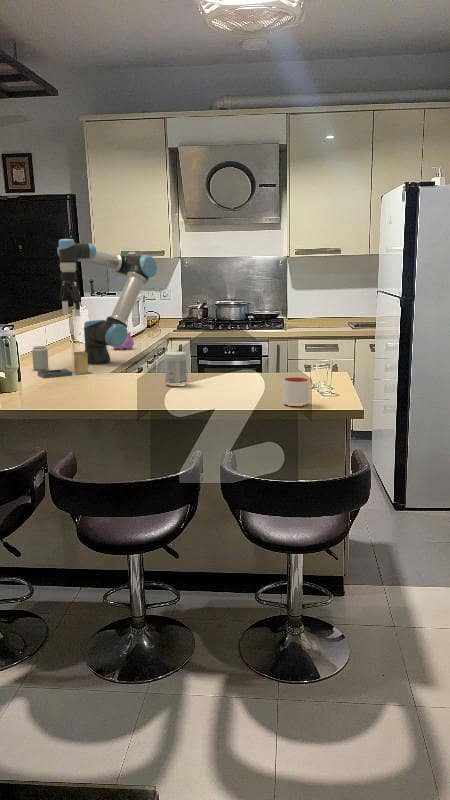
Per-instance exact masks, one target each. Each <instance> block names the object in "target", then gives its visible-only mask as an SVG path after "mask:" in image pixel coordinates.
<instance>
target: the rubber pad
mask: <svg viewBox="0 0 450 800" xmlns="http://www.w3.org/2000/svg"><path fill="white" fill-rule="evenodd" d="M73 374H74V375H76V376H80V375H89V374H93V372H91V371H89V370H88V373H76V372H75V371H72V375H73Z"/></svg>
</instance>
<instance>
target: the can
mask: <svg viewBox="0 0 450 800" xmlns="http://www.w3.org/2000/svg"><path fill="white" fill-rule="evenodd" d="M31 354H32V366H33V367H32V369H33V370H35V371H37V372H38V371H47V370H48V369H49V357H48V355H49V353H48V349H47V346H44V345H36V346H35V345H34V346H33V347H32V350H31Z"/></svg>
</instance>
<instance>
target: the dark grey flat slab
mask: <svg viewBox="0 0 450 800" xmlns="http://www.w3.org/2000/svg"><path fill="white" fill-rule="evenodd" d="M72 372H73V371H72V370H70V369H67V368H59V369H49V370H48V369H47V370H43V371H37V376H38V377H40V378H42V379H50V378H59V377H70V376H71V377H72V376H73V373H72Z"/></svg>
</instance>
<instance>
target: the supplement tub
mask: <svg viewBox="0 0 450 800" xmlns="http://www.w3.org/2000/svg"><path fill="white" fill-rule="evenodd" d="M187 371H188V369H187V354H186V352H184V351H168V352H164V374H165V376H164V379H165V383H166V382H169V383H182V382H186V381H187V382H188V380H187V379H188V378H187V377H188V376H187Z"/></svg>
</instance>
